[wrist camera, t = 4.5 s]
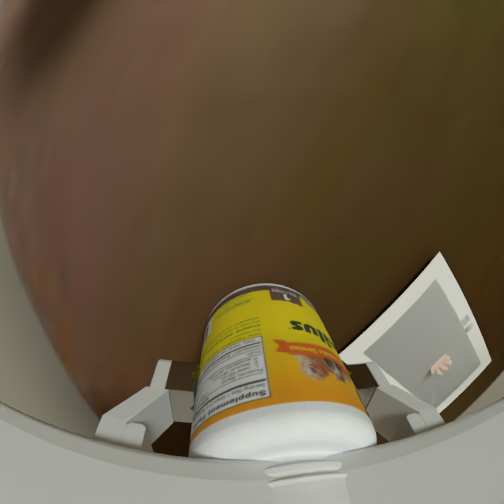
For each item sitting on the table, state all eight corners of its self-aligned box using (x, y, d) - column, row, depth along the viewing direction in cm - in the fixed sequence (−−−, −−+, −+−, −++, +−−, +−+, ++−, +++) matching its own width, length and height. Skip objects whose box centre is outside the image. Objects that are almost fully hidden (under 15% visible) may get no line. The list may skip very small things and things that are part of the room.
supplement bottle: (333, 338, 14) (414, 507, 4) (244, 383, 15) (258, 555, 5) (283, 254, 13) (386, 471, 3) (182, 313, 13) (132, 523, 3)
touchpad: (423, 414, 19) (433, 430, 17) (331, 344, 15) (343, 369, 13) (484, 354, 17) (497, 367, 15) (428, 245, 13) (451, 258, 11)
